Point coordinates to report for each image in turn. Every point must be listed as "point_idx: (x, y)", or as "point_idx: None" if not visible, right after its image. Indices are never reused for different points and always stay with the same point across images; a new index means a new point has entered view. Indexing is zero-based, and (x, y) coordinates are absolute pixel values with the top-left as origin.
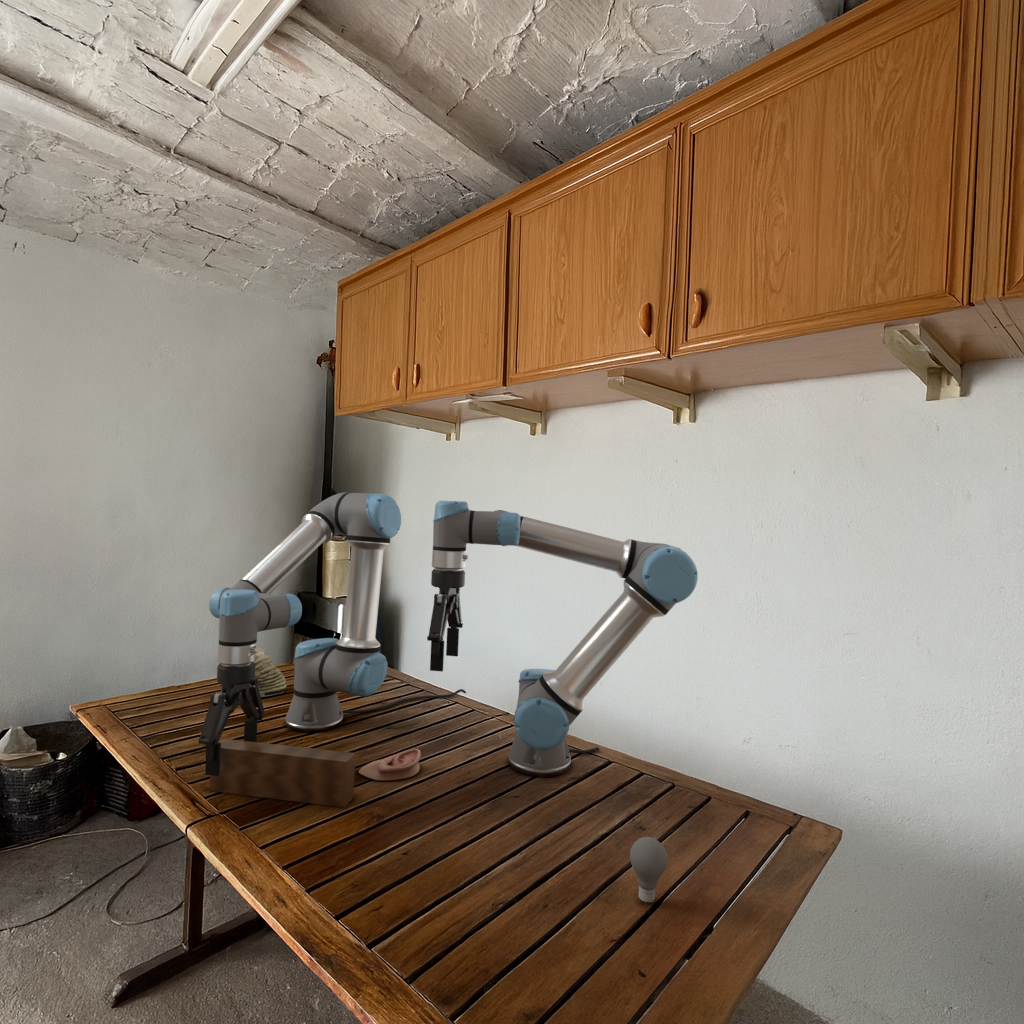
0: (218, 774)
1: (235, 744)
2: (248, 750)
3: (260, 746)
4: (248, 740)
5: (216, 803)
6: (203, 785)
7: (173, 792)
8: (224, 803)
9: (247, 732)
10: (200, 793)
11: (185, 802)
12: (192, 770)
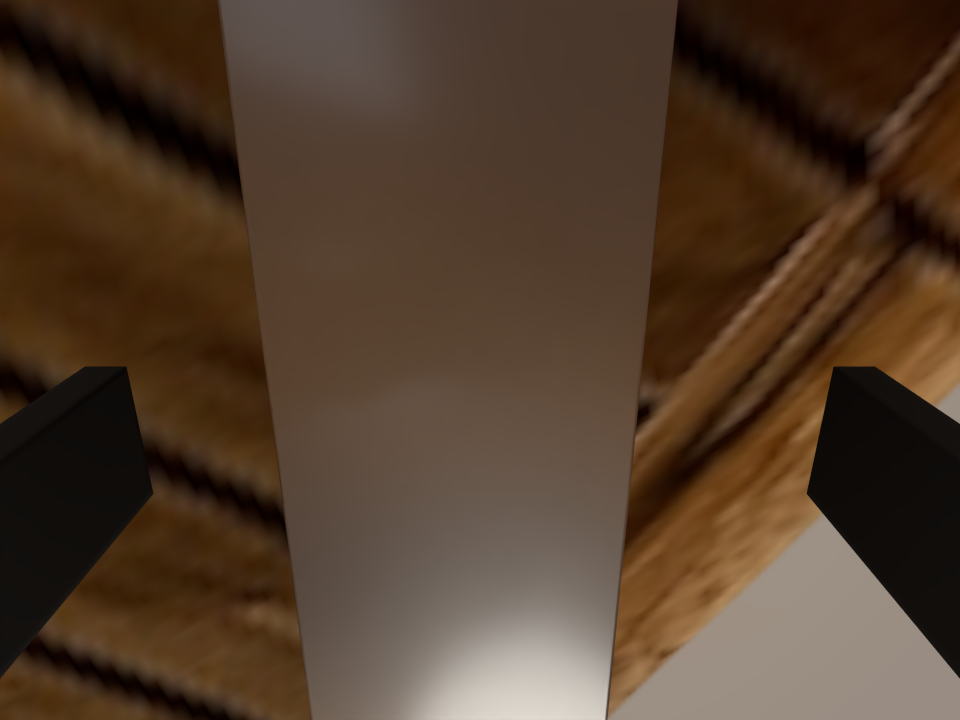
0: (856, 371)
1: (450, 532)
2: (647, 204)
3: (409, 89)
4: (72, 511)
5: (715, 297)
6: None
7: None
8: (708, 240)
9: (4, 607)
10: None
11: (724, 493)
12: (301, 696)
